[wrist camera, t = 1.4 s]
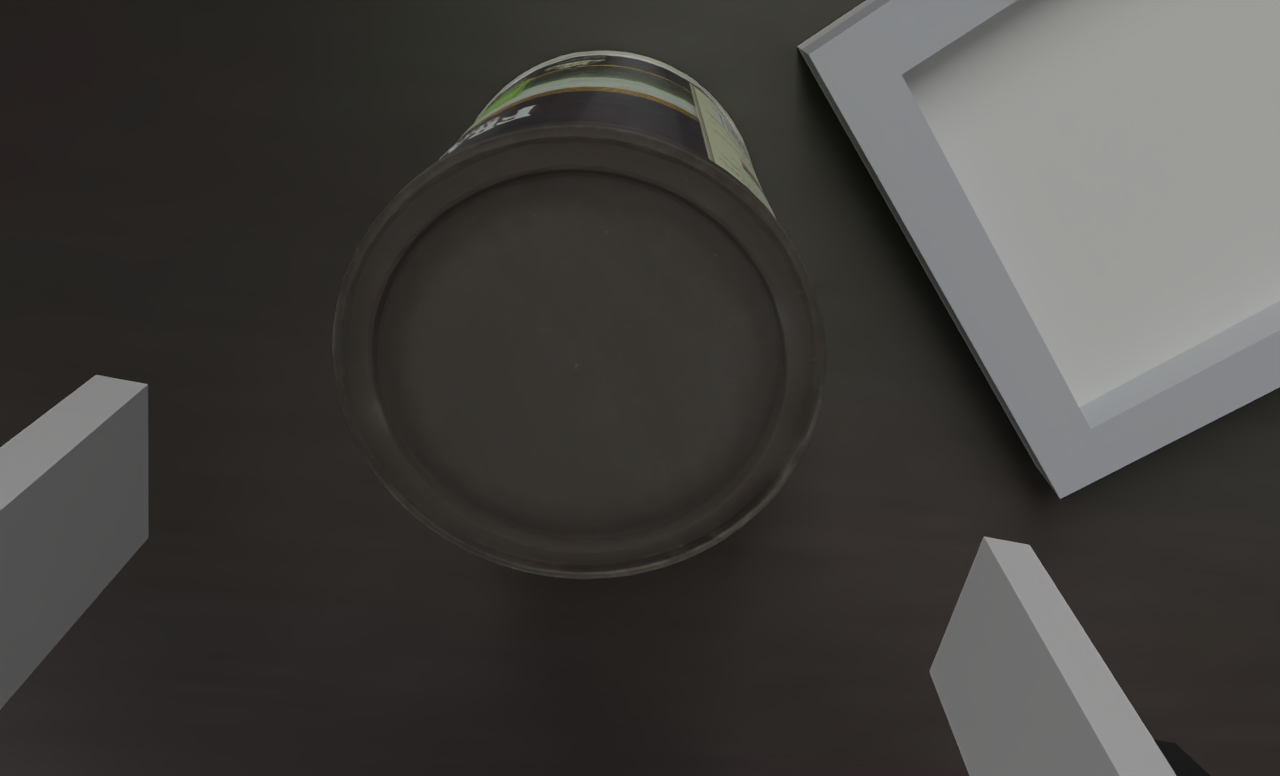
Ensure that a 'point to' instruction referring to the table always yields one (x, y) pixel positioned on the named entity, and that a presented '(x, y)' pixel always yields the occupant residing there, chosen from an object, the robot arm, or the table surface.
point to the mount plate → (1082, 202)
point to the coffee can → (583, 328)
